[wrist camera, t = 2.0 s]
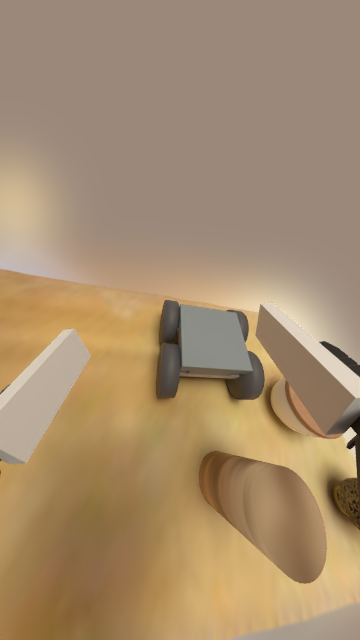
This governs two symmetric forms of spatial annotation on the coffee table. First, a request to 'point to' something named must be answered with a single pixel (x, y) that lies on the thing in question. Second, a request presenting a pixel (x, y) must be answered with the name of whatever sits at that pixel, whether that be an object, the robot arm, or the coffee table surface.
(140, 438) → the coffee table surface
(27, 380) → the robot arm
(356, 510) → the dark brown textured bowl
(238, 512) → the tan wooden cylinder
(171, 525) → the coffee table surface
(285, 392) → the lidded jar
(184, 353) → the trolley
